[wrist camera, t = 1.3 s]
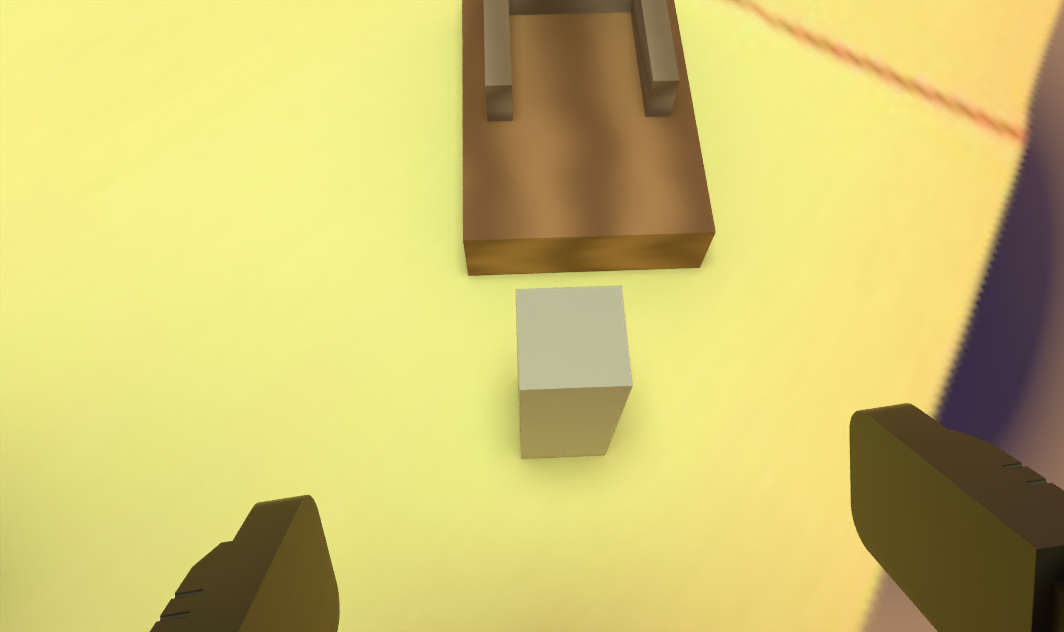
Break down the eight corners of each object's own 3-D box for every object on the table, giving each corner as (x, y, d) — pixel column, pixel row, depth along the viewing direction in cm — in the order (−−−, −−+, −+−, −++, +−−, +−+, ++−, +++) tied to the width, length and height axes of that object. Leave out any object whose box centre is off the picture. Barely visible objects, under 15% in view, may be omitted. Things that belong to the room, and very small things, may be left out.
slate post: (521, 458, 38) (519, 389, 28) (518, 379, 40) (515, 289, 30) (604, 455, 38) (632, 385, 29) (597, 376, 40) (621, 285, 30)
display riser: (468, 275, 43) (458, 209, 37) (466, 10, 52) (458, -78, 46) (699, 267, 43) (729, 201, 37) (656, 6, 53) (674, -83, 46)
